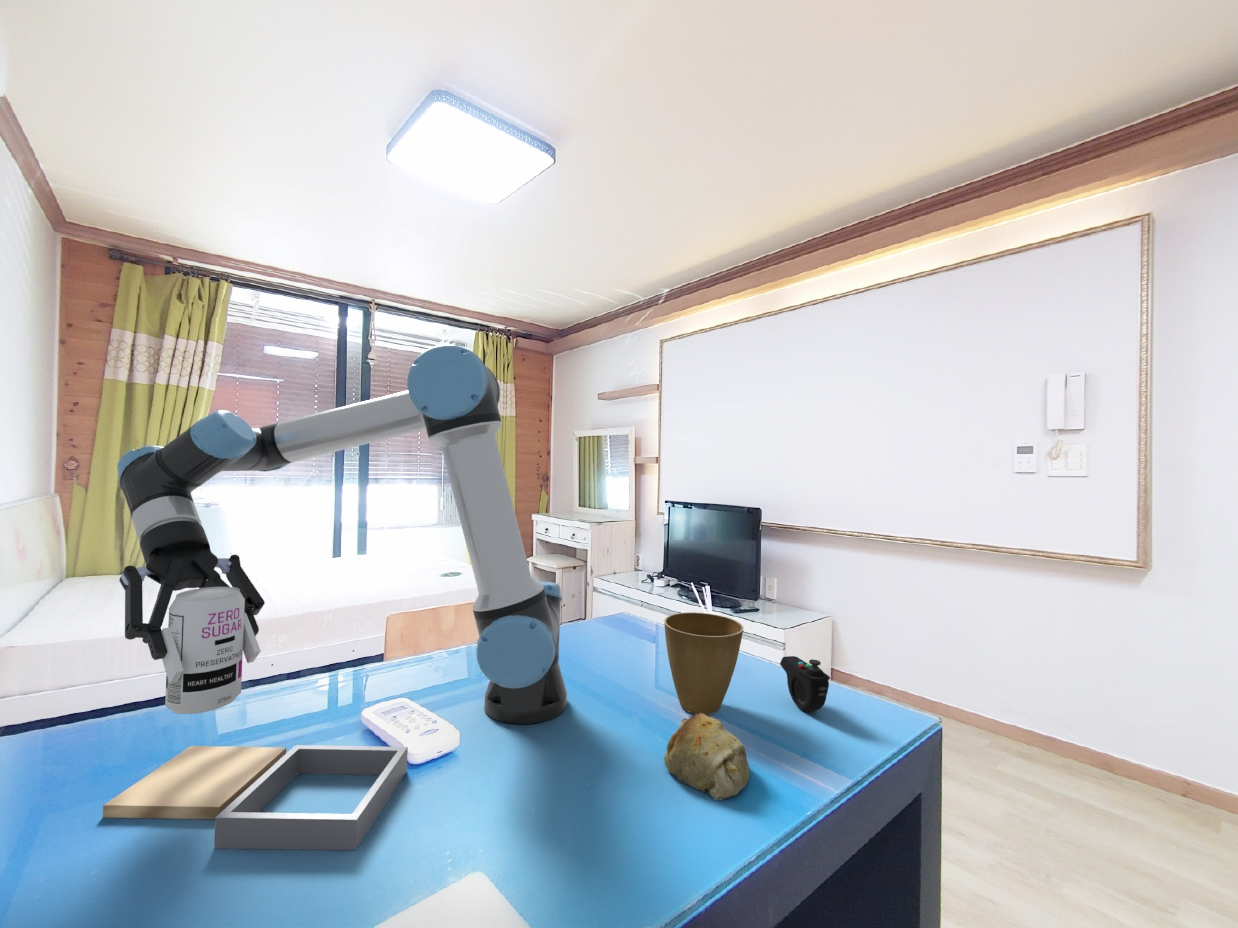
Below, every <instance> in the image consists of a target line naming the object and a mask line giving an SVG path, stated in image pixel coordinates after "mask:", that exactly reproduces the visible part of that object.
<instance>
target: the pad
mask: <svg viewBox="0 0 1238 928" xmlns="http://www.w3.org/2000/svg"><path fill="white" fill-rule="evenodd" d="M286 753H287V747H279V746H278V747H270V746H266V747H265V746H259V747H258V746H225V745H223V746H222V745H221V746H218V745H217V746H216V745H215V746H212V745H211V746H210V745H209V746H208V745H190V746H188V747H186V748H185V749H184V750H183V751H181V752H180V753H179V754H177V755H175V756H174V757H171V759H169V760H168V761H167V762H165V763H163V764H162V765H160V766H159V767H157V768H156V769H155V770H152V772H150V773H148V775H145V776H144V777H143V778H141V779H140V780H138V781H136V782H135V783H134V784H132V785H131V786H129V787H128V788H126V789H125V790H123V791H122V792H121V793H119V794H118V795H115V797H113V798H111V799H110V800H109V801H107V802H106V803H105V804H103V805H102V818H108V819H109V818H112V819H113V818H114V819H116V818H118V819H122V818H123V819H124V818H125V819H178V820H179V819H183V820H184V819H185V820H187V819H188V820H190V819H191V820H197V819H198V820H215V817H216V816H218V815H219V814H220V813H221V812H222V811H223V810H224V809H225V808H226V807H228V806H229V805H230V804H231V803H232V802H233V801H234V800H235V799H236V798H238V797H239V796H240V795H241V794H242V793H243V792H244V791H245V790H246V789H247V788H249V787H250V786H251V785H252V784H253V783H254V782H255V781H256V780H257V779H259V778H260V777H261V776H262V775H263V774H264V773H265V772H266V771H267V770H269V769H270V768H271V767H272V766H273V765H274V764H275V763H276V762H277V761H278V760H280V759H281V758H282V757H283V756H284V755H285V754H286Z"/></svg>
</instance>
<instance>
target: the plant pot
mask: <svg viewBox="0 0 1238 928" xmlns="http://www.w3.org/2000/svg"><path fill="white" fill-rule="evenodd" d="M663 622H664V623H663V625H664V633H665V644H666V651H667V656H668V657H667V658H668V663H669V667H670V668H669V669H670V672H671V677H672V680H673V684H674V688H675V693H676V695H677V698H678V702H679V704H680V707H681V708H682V709H683V710H684V711H685V712H688V713H691V714H693V713H694V715H696V714H699V713H704V714H705V715H706V716H709V714H710V715H714V714H716V713H717V712H719V711H720V708H721V706H722V704H723V701H724V699H725V696H726V694H727V692H728V689H729V686H730V683H731V682H732V679H733V675H734V672H735V668H736V666H737V661H738V657H739V653H740V648H741V644H742V640H743V639H742V638H743V633H744V626H743V624H742V623H740V622H739V621H737V620H735V619H733V618H731V617H727V616H723V615H720V614H719V615H718V614H713V613H707V612H695V611H691V612H678V613H673V614H670V615H668V616H666V617H665V618H664V620H663Z"/></svg>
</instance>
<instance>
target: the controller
mask: <svg viewBox="0 0 1238 928" xmlns="http://www.w3.org/2000/svg"><path fill="white" fill-rule="evenodd" d="M821 664H822V663H821V661H820V660H817V659H809V661H808V663H807V662H806V661H804V660H803V659H802V658H799V657H797V656H794V655H791V656H790V655H789V656H782V658H781V660H780V662H779V665H780V667H781V668H782V670H784V672H785V673H786V679H787V680H786V681H787V689H788V691H789V694H790V695H789V696H790V697H791V699H792V701H793V703H794V704H795V705H796V707H798V708H799V709H801V710H802V711H804V712H815V711H816V712H817V711H818V710H819V711H820V710H821V708H823V707H824V705H825V702H826V700H827V696H828V691H829V686H830V683H829V681H830V679H831V677H830V676H829V675H828V674H827V673H825V672H824V671H823V669H821V667H820V665H821Z"/></svg>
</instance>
